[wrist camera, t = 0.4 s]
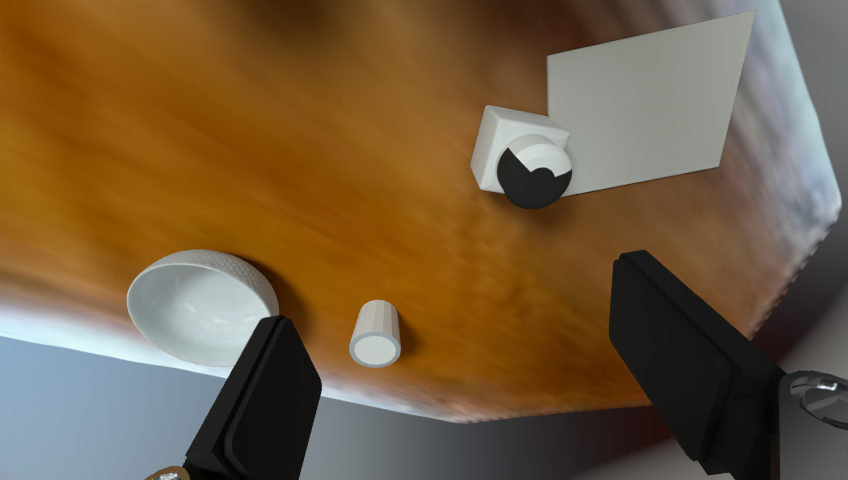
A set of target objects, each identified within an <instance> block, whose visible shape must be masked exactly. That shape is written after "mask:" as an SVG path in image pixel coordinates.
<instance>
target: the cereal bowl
mask: <svg viewBox="0 0 848 480" xmlns="http://www.w3.org/2000/svg"><path fill="white" fill-rule="evenodd" d="M127 307H128V311H129V314H130V317H131V319H132V321H133V323H134V324H135V326H136V327H137V329H138V330H139V331H140V332H141V334H142V335H143V336H144V337H145V338H146V339H147V340H149V341H150V342H151V343H152V344H153V345H155V346H156V347H158V348H159V349H161V350H163V351H164V352H166V353H168V354H170V355H172V356H174V357H176V358H179V359H181V360H184V361H187V362H191V363H194V364H199V365H204V366H214V367H225V366H234V365H235V364H236V362H237V360H238V358H239V357H240V355H241V353H242V351H243V349H244V348H245V346H246V344H247V342H248V340H249V338H250V337H251V335H252V333H253V331H254V329H255V328H256V326H257V324H258V322H259V321H260V319H262V318H265V317H271V316H276V315H279V305H278V300H277V297H276V294H275V291H274V289H273V288H272V286H271V285H270V283H269V282H268V280H267V279H266V278H265V276H263V274H261V273H260V272H259V271H258V270H257V269H256V268H255V267H253V266H252V265H250V264H249V263H247V262H245V261H244V260H242V259H240V258H238V257H235V256H233V255H231V254H227V253H223V252H219V251H213V250H200V249H198V250H186V251H180V252H178V253H173V254H171V255H168V256H166V257H164V258H162V259H160V260H158V261H156V262H155V263H153V264H152V265H150V266H149V267H148V268H146V269H145V270H144V271H143V272H141V273H140V274H139V275H138V276H137V277H136V278H135V280H134V281H133V282H132V284H131V286H130V288H129V291H128V294H127Z"/></svg>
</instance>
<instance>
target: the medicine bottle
mask: <svg viewBox="0 0 848 480" xmlns="http://www.w3.org/2000/svg"><path fill="white" fill-rule="evenodd" d="M569 137H570V132H569V131H568V130H566V129H565V128H563V127H562V126H560V125H559V124H557V123H556V122H554V121H553V120H551V119H550V118H548V117H547V116H544V115H539V114H533V113H528V112H523V111H518V110H512V109H507V108H502V107H497V106H491V105H487V106H486V107H485V109H484V113H483V117H482V121H481V125H480V129H479V133H478V137H477V140H476V144H475V148H474V152H473V156H472V160H471V164H470V167H471V169H472V171H473V174H474V176H475V178H476V181H477V183H478V185H479V187H480V189H481V190H485V191H492V192H498V193H504V194H506V196H507V198H508V199H509V200H510V201H511V202H512V203H513V204H515V205H516V206H518V207H520V208H524V209H539V208H543V207H546V206H548V205H550V204H552V203H554V202H555V201H556V200H558V199H559V198H560V197H561V196H562V195H563V194H564V192H565V191H566V190H567V188H568V186H569V184H570V181H571V178H572V164H571V161H570V159H569V157H568V155H567V154H566V153H565V152H564V150H565V147H566V145H567V142H568V140H569Z"/></svg>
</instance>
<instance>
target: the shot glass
mask: <svg viewBox="0 0 848 480" xmlns="http://www.w3.org/2000/svg"><path fill="white" fill-rule="evenodd" d="M400 351H401V344H400V334H399V323H398V313H397V311H396V308H395V307H394V306H393V305H392V304H391V303H388V302H386V301H382V300H374V301H370V302H368V303H366V304H365V305H363V307H362V308H361V310H360V313H359V316H358V319H357V323H356V326H355V329H354V332H353V336H352V339H351V342H350V348H349V352H350V354H351V356H352V358H353V359H354V360H355V361H356V362H358V363H359V364H361V365H364V366H367V367H375V368H379V367H384V366H388V365H390V364H392V363H393V362H395V361H396V360H397V358H398V357H399V356H400Z"/></svg>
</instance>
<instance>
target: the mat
mask: <svg viewBox="0 0 848 480" xmlns="http://www.w3.org/2000/svg"><path fill="white" fill-rule="evenodd" d="M755 13H756V11H748V12H744V13H739V14H735V15H730V16H726V17H721V18H716V19H712V20H707V21H703V22H698V23H694V24H689V25H685V26H680V27H675V28H671V29H666V30H662V31H657V32H653V33H648V34H643V35H639V36H634V37H630V38H625V39H621V40H616V41H612V42H607V43H602V44H598V45H593V46H589V47H584V48H580V49H575V50H570V51H566V52H561V53H557V54H552V55H548V56H547V110H548V118H550V119H551V120H553V121H554V122H556V123H557V124H559V125H560V126H562V127H563V128H565V129H566V130H568V131H569V132H570V137H569V140H568V142H567V145H566V147H565V150H564V152H565V153H566V154H567V155H568V157H569V159H570V161H571V164H572V178H571V181H570V184H569V186H568V188H567V190H566V191H565V192H564V194H563V195H562V196H561V197H563V196H568V195H574V194H579V193H584V192H589V191H594V190H600V189H605V188H610V187H615V186H620V185H626V184H631V183H636V182H641V181H646V180H652V179H657V178H662V177H667V176H672V175H678V174H683V173H688V172H693V171H698V170H704V169H709V168H714V167H719V163H720V159H721V155H722V150H723V146H724V142H725V138H726V134H727V130H728V125H729V121H730V117H731V113H732V109H733V105H734V100H735V96H736V92H737V88H738V84H739V80H740V75H741V71H742V67H743V63H744V59H745V55H746V50H747V46H748V42H749V38H750V34H751V30H752V25H753V21H754V17H755Z"/></svg>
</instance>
